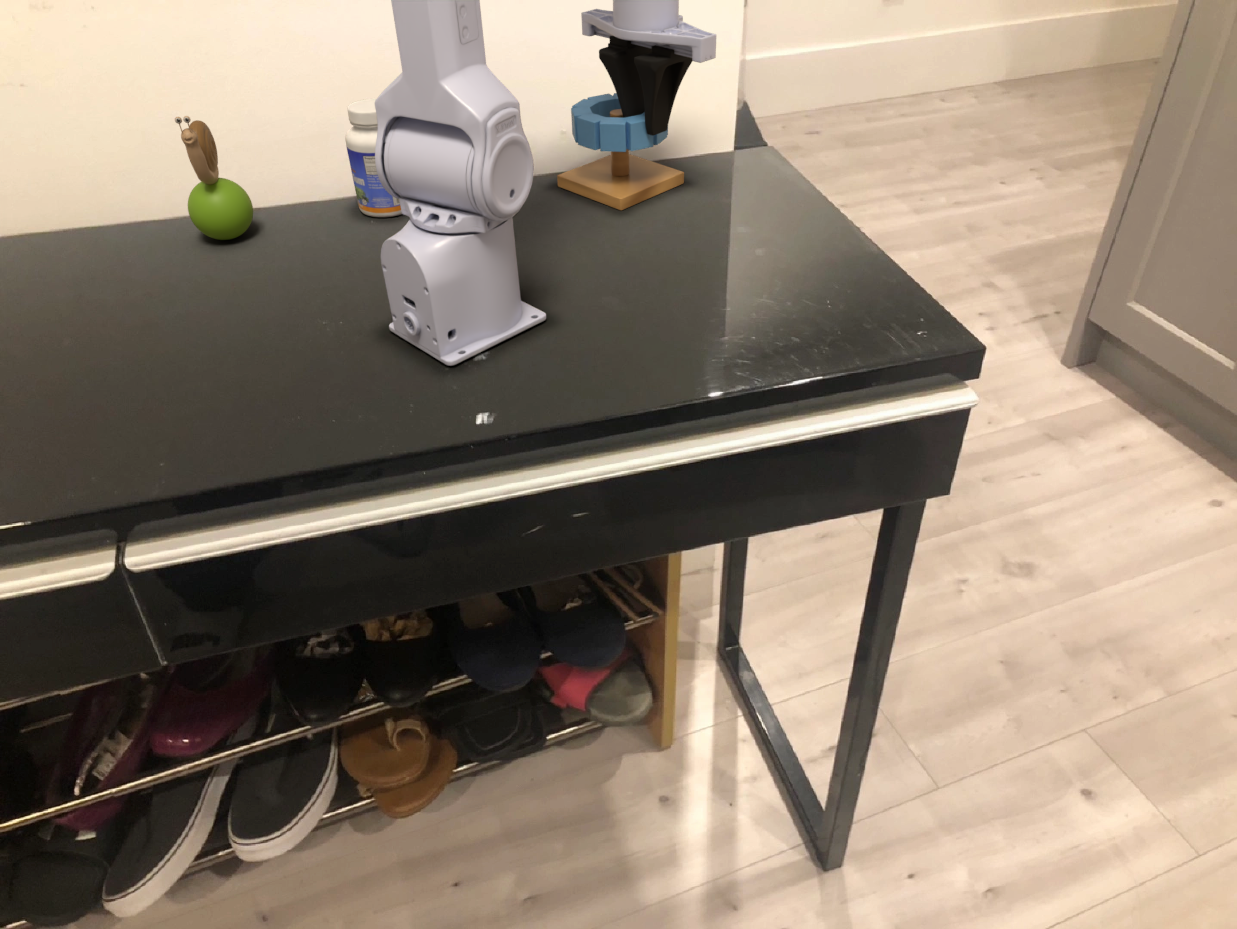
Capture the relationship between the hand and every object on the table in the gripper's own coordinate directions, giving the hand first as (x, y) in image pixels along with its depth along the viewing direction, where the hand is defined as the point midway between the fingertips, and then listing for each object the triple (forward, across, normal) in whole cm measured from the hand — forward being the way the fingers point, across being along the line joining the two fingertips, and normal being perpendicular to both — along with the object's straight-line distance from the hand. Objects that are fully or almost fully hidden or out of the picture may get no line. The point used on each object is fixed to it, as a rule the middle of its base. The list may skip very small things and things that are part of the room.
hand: (646, 128), depth 86 cm
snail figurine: (+7, +22, +33) cm, 40 cm away
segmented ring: (+1, +4, 0) cm, 4 cm away
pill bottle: (+7, +17, +19) cm, 26 cm away
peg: (+6, +4, 0) cm, 7 cm away
